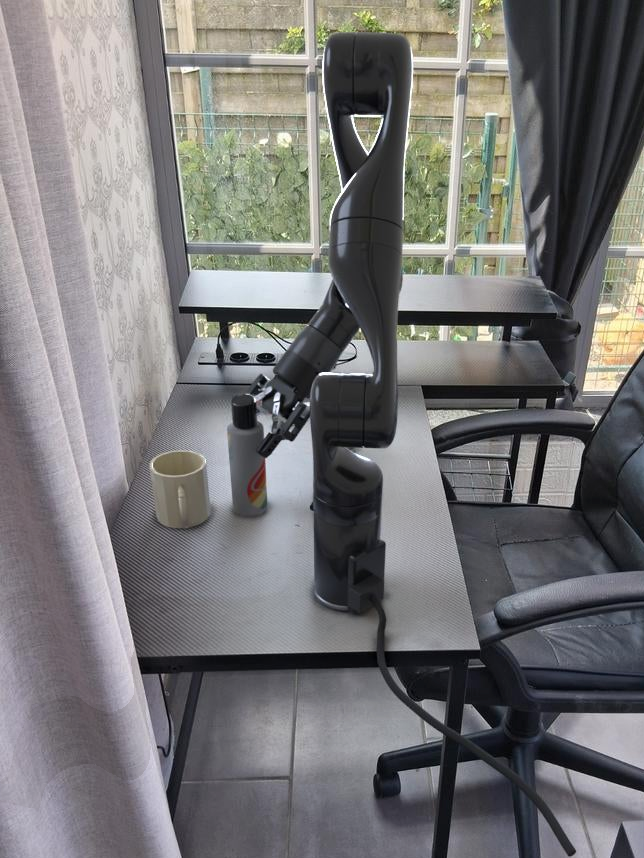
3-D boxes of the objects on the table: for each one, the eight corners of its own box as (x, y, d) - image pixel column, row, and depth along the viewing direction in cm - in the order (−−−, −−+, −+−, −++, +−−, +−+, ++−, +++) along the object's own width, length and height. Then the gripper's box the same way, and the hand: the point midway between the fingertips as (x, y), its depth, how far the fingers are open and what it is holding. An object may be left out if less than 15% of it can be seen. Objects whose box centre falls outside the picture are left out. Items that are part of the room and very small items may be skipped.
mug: (155, 503, 132) (148, 453, 127) (208, 497, 135) (203, 447, 129) (158, 543, 123) (151, 490, 118) (214, 536, 125) (209, 484, 120)
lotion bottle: (274, 508, 132) (269, 398, 122) (247, 521, 129) (240, 409, 118) (252, 495, 136) (246, 386, 125) (226, 507, 132) (216, 397, 121)
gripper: (270, 334, 128) (210, 416, 128) (318, 364, 118) (253, 452, 118) (299, 359, 133) (242, 437, 134) (347, 389, 124) (285, 473, 124)
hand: (247, 444), depth 126 cm, fingers open, 8 cm apart
